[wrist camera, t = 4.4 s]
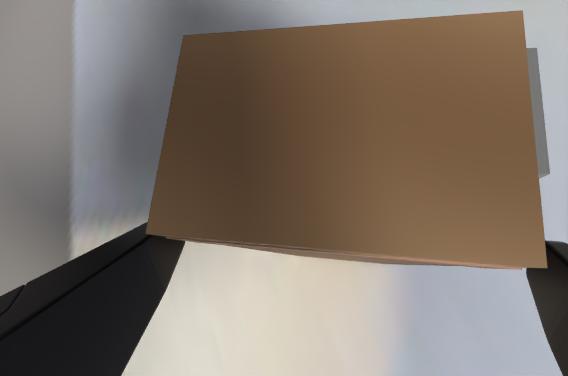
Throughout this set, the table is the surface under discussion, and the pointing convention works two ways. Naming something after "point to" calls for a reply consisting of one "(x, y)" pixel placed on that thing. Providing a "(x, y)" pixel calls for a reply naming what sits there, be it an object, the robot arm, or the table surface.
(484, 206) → the panel
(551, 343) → the robot arm
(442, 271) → the table surface
